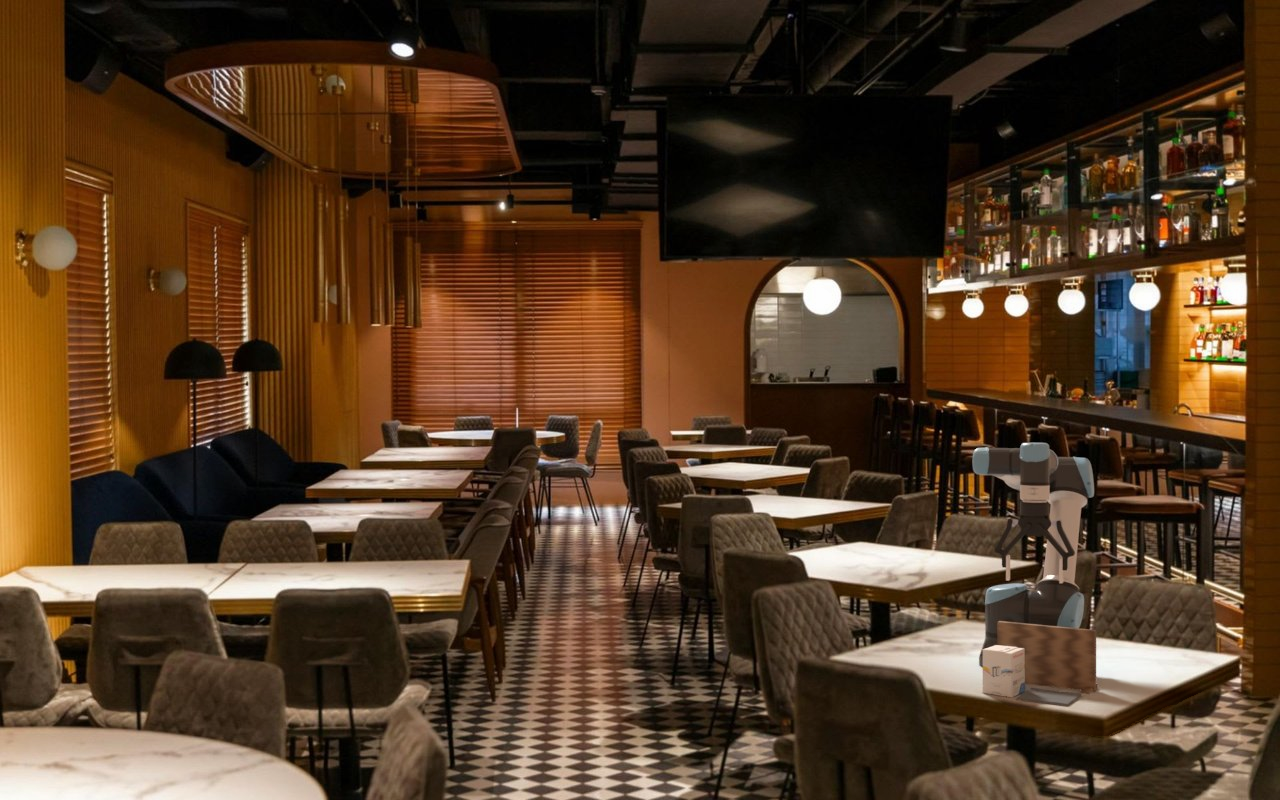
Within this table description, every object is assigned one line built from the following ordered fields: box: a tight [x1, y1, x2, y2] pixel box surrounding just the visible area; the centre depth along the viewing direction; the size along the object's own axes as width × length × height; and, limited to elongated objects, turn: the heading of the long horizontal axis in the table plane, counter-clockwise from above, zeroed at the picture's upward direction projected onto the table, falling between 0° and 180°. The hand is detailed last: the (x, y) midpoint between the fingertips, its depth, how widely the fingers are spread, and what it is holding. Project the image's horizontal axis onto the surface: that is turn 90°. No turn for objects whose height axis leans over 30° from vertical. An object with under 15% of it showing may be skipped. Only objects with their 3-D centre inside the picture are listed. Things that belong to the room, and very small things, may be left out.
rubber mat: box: [1016, 687, 1083, 707], centre depth 356 cm, size 13×13×1 cm
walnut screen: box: [997, 621, 1099, 694], centre depth 370 cm, size 26×7×16 cm, turn 57°
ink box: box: [982, 645, 1026, 698], centre depth 362 cm, size 9×8×12 cm
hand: (1034, 581), depth 364 cm, fingers open, 13 cm apart
